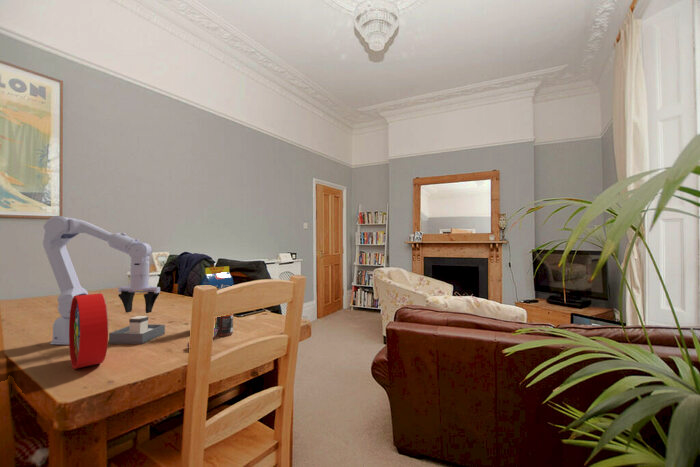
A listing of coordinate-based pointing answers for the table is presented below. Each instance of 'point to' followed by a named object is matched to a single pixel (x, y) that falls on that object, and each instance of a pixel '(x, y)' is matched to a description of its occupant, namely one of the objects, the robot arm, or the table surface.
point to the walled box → (136, 335)
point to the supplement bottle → (224, 325)
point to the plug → (138, 324)
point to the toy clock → (88, 330)
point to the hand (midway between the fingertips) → (138, 312)
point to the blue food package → (217, 278)
